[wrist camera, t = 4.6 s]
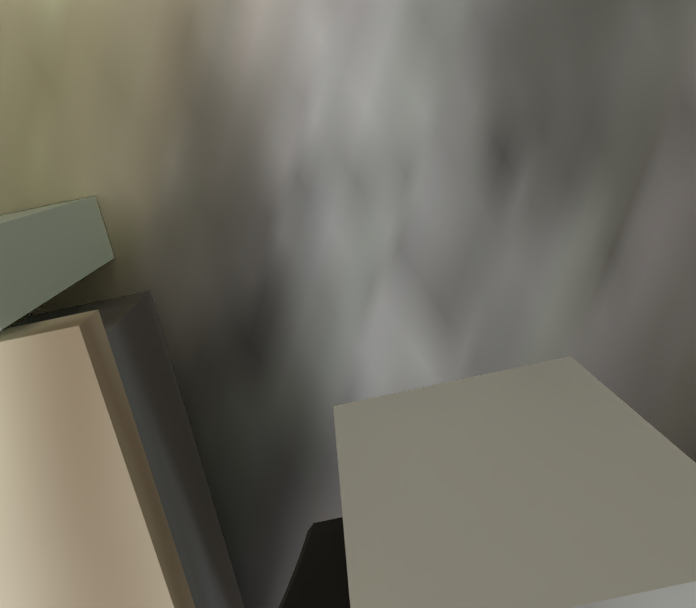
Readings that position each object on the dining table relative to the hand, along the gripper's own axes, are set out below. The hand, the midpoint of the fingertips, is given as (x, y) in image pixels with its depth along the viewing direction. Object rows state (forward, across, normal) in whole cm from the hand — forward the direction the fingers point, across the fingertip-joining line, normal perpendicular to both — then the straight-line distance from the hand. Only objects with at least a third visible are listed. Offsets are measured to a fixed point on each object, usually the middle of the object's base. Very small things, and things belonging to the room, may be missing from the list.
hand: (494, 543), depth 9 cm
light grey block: (+2, 0, 0) cm, 2 cm away
